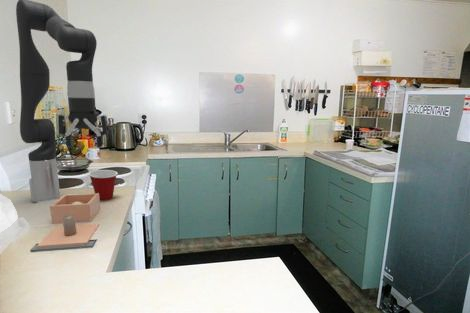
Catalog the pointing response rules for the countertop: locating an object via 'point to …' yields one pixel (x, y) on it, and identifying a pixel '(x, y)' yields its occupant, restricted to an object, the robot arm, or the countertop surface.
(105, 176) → the plastic cup
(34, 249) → the mat
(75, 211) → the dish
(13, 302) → the countertop surface
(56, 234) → the lid
